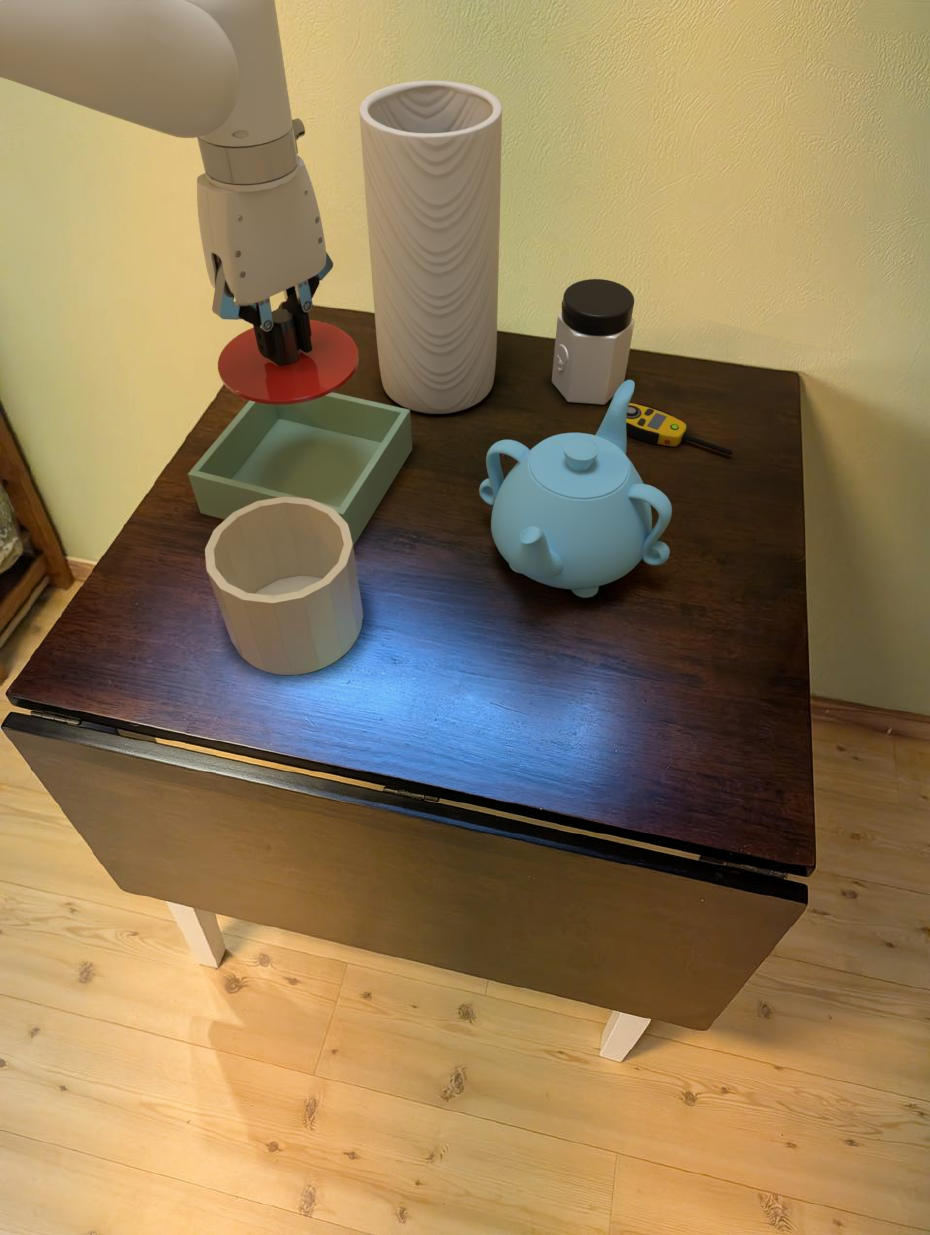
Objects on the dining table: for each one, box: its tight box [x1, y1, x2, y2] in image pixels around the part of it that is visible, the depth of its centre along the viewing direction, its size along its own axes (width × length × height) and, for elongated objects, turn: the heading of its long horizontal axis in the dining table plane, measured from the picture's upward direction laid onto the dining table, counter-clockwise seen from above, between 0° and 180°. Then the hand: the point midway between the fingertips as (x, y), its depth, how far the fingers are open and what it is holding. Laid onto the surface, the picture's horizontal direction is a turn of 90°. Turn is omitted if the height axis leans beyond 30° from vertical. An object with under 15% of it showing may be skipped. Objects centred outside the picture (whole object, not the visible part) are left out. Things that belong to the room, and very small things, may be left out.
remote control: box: [626, 402, 734, 456], centre depth 98 cm, size 5×2×15 cm
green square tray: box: [187, 392, 413, 547], centre depth 92 cm, size 18×18×6 cm
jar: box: [551, 278, 635, 406], centre depth 101 cm, size 9×8×12 cm
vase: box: [358, 80, 503, 415], centre depth 93 cm, size 14×14×32 cm
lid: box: [217, 308, 360, 405], centre depth 81 cm, size 14×14×6 cm
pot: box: [204, 496, 364, 676], centre depth 77 cm, size 13×13×10 cm
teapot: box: [478, 379, 673, 599], centre depth 82 cm, size 16×20×14 cm
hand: (287, 351), depth 82 cm, fingers closed on lid, 2 cm apart
